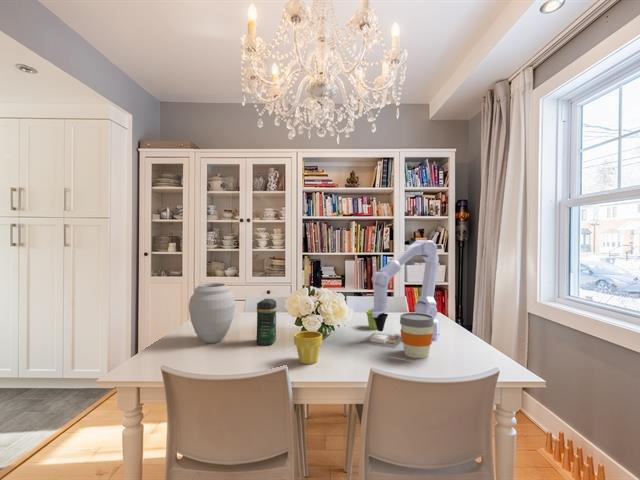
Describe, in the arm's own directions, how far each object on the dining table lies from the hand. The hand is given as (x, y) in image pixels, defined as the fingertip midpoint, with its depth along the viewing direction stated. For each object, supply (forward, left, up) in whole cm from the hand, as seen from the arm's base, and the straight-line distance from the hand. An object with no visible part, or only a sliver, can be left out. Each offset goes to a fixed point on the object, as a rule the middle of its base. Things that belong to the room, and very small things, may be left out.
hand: (380, 330), depth 149 cm
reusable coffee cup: (-18, +10, -5) cm, 21 cm away
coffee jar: (+42, +26, -5) cm, 50 cm away
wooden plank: (-5, -3, -4) cm, 7 cm away
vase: (+64, +36, -5) cm, 73 cm away
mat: (-1, -1, -5) cm, 5 cm away
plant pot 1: (+15, +36, -5) cm, 39 cm away
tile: (0, -2, -3) cm, 4 cm away
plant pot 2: (+9, -18, -5) cm, 21 cm away
